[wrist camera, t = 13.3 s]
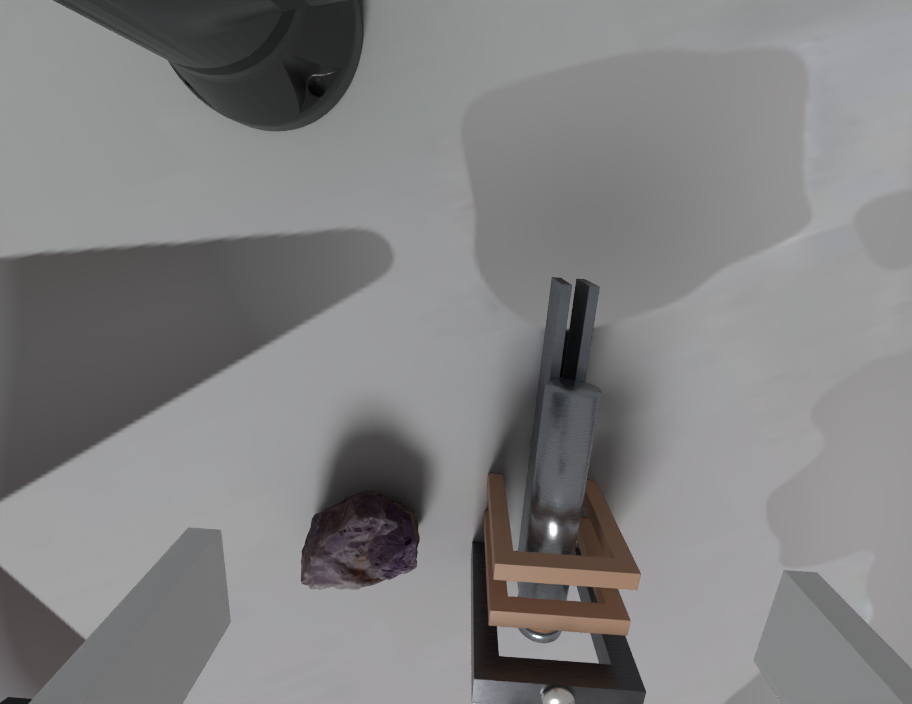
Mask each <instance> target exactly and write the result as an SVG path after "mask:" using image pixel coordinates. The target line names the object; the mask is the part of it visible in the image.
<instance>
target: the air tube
mask: <svg viewBox="0 0 912 704" xmlns="http://www.w3.org/2000/svg"><path fill="white" fill-rule="evenodd" d="M600 398H601V391H600V389H599V388H597V387H596V386H594V385H592V384H589V383H586V382H583V381H578V380H572V379H554V380H550V381H548V382H546V384H545V390H544V398H543V406H542V413H541V421H540V429H539V437H538V445H537V452H536V460H535V468H534V476H533V484H532V492H531V499H530V507H529V515H528V523H527V531H526V538H525V546H524V552H536V553H550V554H564V555H574V553H575V547H576V541H577V536H578V530H579V524H580V518H581V512H582V506H583V500H584V494H585V488H586V482H587V476H588V470H589V464H590V458H591V452H592V446H593V440H594V434H595V428H596V422H597V416H598V410H599V404H600ZM568 589H569V585H560V584H546V583H532V582H520V585H519V593H518V597H522V598H536V599H550V600H563V601H567V595H568ZM518 629H519V630H520V632H521V633H522V634H523V635H524V636H525V637H527V638H528V639H530V640H532V641H535V642H538V643H549V642H552V641H554V640H556V639H557V638H558V637H559V636H560V634H561V631H557V630H543V629H530V628H518Z"/></svg>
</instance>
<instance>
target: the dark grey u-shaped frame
mask: <svg viewBox="0 0 912 704" xmlns="http://www.w3.org/2000/svg"><path fill="white" fill-rule="evenodd" d="M574 555H578V556H582V554H581V551H580V549H575V553H574ZM577 589H578V592H579V596H580V599H581V602H591V603H598V602H597V599H596V596H595V593H594V590H593V587H588V586H577ZM591 637H592V640H593V644H594V647H595V650H596V654H597V657H598V661H599V664H597V663H584V662H570V661H557V660H543V659H529V658H516V657H502V656H499V652H498V637H497V626H489V623H488V602H487V581H486V560H485V542H473V543H472V554H471V665H472V703H475V704H643V702H644V698H645V694H646V690H645V688H644V685H643V682H642V680H641V677H640V674H639V672H638V669H637V666H636V664H635V661H634V658H633V656H632V653H631V650H630V648H629V645H628V642H627V640H626V637H625V635H612V634H598V633H591Z"/></svg>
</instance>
